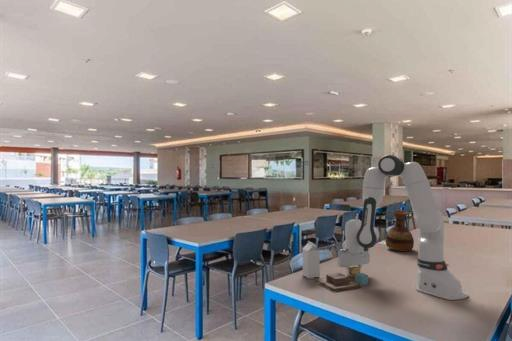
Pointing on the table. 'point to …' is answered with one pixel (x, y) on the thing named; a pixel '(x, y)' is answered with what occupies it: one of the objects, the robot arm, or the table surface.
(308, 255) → the milk carton
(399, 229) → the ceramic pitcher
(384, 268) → the table surface
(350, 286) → the walnut base
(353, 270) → the oak cube
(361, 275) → the teal cube
